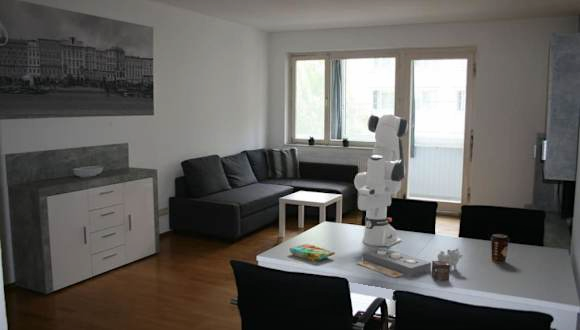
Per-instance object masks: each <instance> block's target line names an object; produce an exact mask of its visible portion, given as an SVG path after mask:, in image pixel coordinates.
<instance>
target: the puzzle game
mask: <svg viewBox="0 0 580 330" xmlns="http://www.w3.org/2000/svg"><path fill="white" fill-rule="evenodd" d="M289 252H290V253H291V255H293V256H295V257H298V258H302V259H305V260H309V261H312V262H318V261H322V260H324V259H328V257H331V256H334V255H335V254H336V252H335V251H333V250H329V249H327V248H326V249H325V248H323V247H319V246H316V245H314V244H309V243H304V244H301V245H296V246H293V247H290V248H289Z"/></svg>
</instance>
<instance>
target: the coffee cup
mask: <svg viewBox="0 0 580 330" xmlns="http://www.w3.org/2000/svg"><path fill="white" fill-rule="evenodd" d="M510 241H511V240H510V238H509V237H508V235H506V234H503V233H502V234H501V233H494V234H492V235H491V237H490V246H491V248H490V249H491V262H493V263H499V264H504V263H506V261H507V260H506V259H507V255H508V249H509V248H508V247H509V242H510Z"/></svg>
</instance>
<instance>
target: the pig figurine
mask: <svg viewBox="0 0 580 330" xmlns="http://www.w3.org/2000/svg"><path fill="white" fill-rule="evenodd" d="M462 258H463V254H462V253H461V252H460V250H459V248H454V249H447V252H445V251H444V250H440V251H439V252H438V254H437V261H446V262H447V263H448V264H449V265H450V272H452V268H453V270H455V271H457V270H458V268H457V264H458V263H459V261H460V259H462Z"/></svg>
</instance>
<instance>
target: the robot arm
mask: <svg viewBox="0 0 580 330" xmlns="http://www.w3.org/2000/svg"><path fill="white" fill-rule="evenodd" d="M367 128H368V131H369V132H370V133H375V134H374V139H375V142H374V146H373V149H372V155H370V156H369V157H368V160H367V165H366V166H365V167H366V169H365V171H364V172H358V173H357V174H356V175H355V177H354V179H353V183H354V187H355V189H356V190H357V191H358V194H359V195H358V199H357V208H358V209H359V210H360V211H365V212H366V215H365V218H364V220H365V222H364V223H365V226H364V231H363V237H362V243H364V244H366V245H368V246H369V245H370V246H379V247H380V246H381V247H382V246H383V247H390V246H393V245H395V244H398V243H400V242H401V241H402V239H401V238H399V237H398V234H397V230H396V229H395V228H394V227H393V226H391V224H389V223H390V222H392V221H393V219H392V217H387V210H388V207H390V206H391V204H392V194H396V193H398V192H399V191H400V190H401V188H402V181H403V179H405V177H406V174H407V173H406V171H407V170H406V166H405V162H404V161H405V159H404V157H405V156H404V150H403V149H404V147H403V142H402V137H404V136H405V135H406V133H407V132H408V130H409V123H408V120H407V118H405V117H399V116H396V115H394V114H392V113H383V114H378V113H371V115H370V116H369V117H368V120H367ZM394 154H395V160H393V155H394Z"/></svg>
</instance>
